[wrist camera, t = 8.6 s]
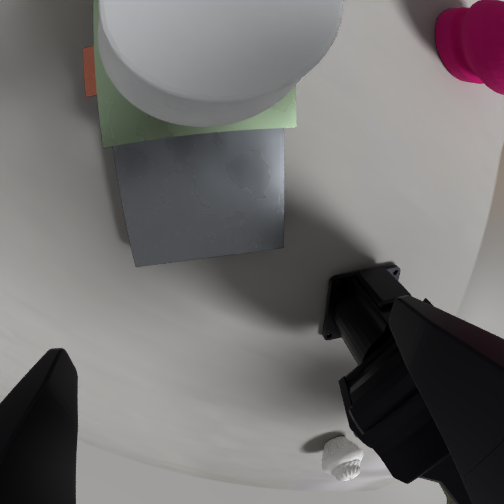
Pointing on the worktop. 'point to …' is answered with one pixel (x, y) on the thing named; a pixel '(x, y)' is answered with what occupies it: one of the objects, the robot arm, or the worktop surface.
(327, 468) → the muffin
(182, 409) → the worktop surface
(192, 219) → the stand
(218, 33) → the supplement bottle
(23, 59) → the worktop surface
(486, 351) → the robot arm
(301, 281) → the worktop surface
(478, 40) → the pepper mill
